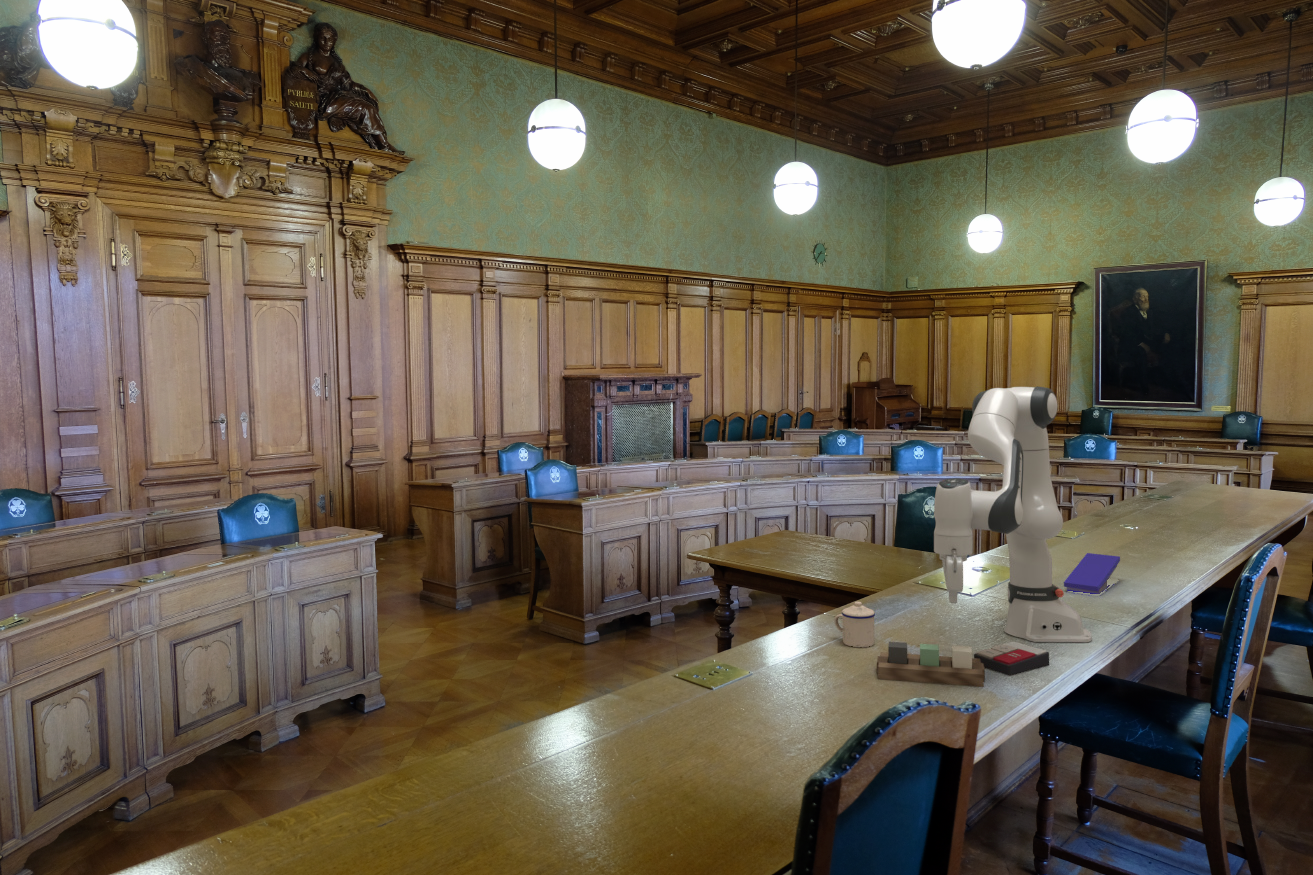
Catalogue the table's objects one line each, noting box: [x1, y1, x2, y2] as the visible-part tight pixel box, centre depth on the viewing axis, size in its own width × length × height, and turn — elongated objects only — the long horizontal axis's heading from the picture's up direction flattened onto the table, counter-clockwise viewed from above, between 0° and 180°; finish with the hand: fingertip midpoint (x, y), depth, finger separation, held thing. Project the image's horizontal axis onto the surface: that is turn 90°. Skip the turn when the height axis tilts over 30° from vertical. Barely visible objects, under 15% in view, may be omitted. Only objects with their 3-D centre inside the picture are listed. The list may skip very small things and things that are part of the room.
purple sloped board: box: [1063, 552, 1121, 594], centre depth 287 cm, size 12×28×10 cm, turn 138°
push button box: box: [973, 640, 1050, 677], centre depth 209 cm, size 11×4×15 cm
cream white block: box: [951, 645, 973, 669], centre depth 200 cm, size 4×4×5 cm
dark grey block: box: [887, 641, 908, 664], centre depth 205 cm, size 4×4×5 cm
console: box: [876, 651, 986, 688], centre depth 203 cm, size 25×12×3 cm, turn 72°
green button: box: [919, 643, 940, 667], centre depth 203 cm, size 4×4×5 cm
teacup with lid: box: [834, 601, 876, 648], centre depth 231 cm, size 12×9×12 cm
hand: (952, 601), depth 200 cm, fingers closed
